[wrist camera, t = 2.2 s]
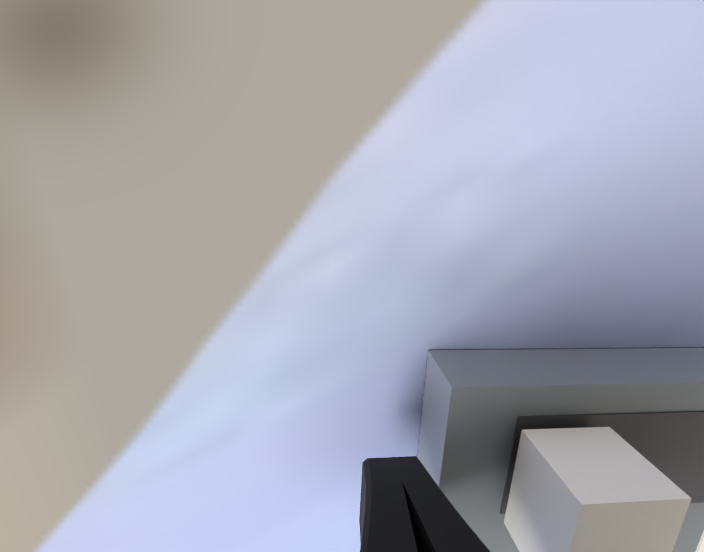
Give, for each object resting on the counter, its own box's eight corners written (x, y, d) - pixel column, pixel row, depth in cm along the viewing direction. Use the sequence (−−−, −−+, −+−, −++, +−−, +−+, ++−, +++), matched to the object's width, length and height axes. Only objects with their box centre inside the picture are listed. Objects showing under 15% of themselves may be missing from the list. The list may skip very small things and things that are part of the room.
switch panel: (633, 609, 16) (682, 676, 14) (398, 629, 15) (412, 706, 12) (723, 347, 12) (805, 383, 10) (428, 349, 11) (453, 390, 9)
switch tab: (584, 517, 10) (652, 604, 8) (503, 522, 10) (552, 613, 8) (609, 426, 10) (691, 498, 8) (522, 429, 9) (581, 504, 7)
